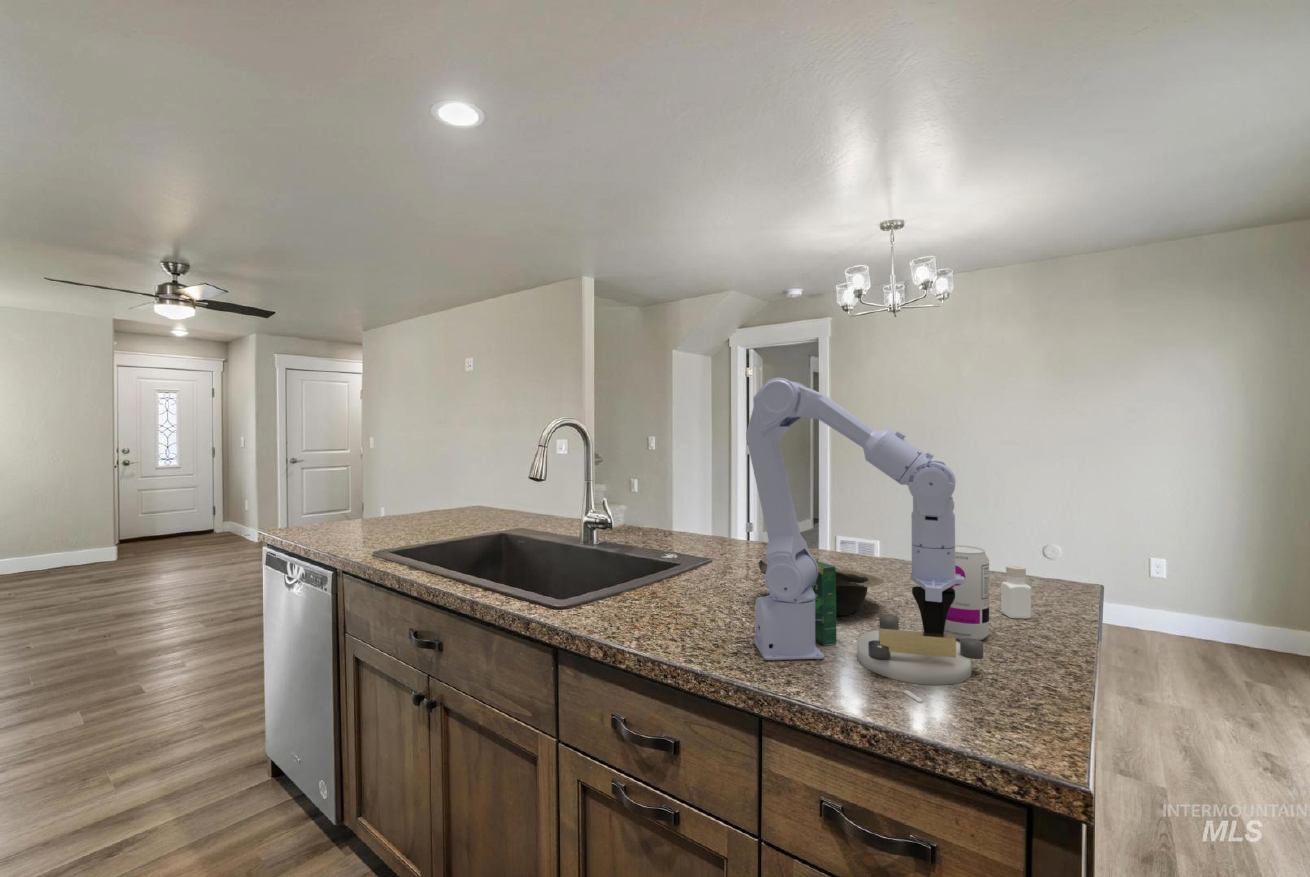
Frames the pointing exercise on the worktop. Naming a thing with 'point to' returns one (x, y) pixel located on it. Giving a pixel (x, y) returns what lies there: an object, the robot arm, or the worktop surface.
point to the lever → (912, 644)
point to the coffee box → (825, 604)
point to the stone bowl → (847, 588)
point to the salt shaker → (1016, 593)
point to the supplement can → (970, 595)
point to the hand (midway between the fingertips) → (933, 638)
